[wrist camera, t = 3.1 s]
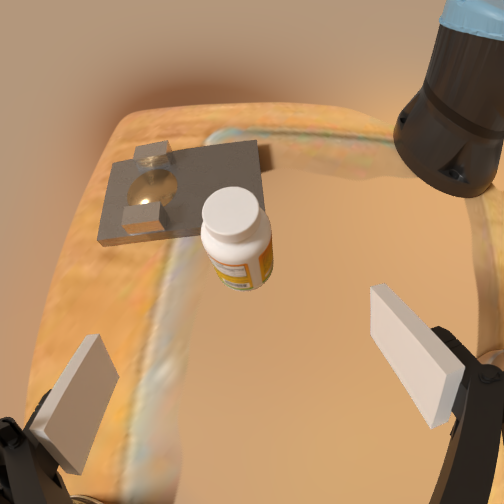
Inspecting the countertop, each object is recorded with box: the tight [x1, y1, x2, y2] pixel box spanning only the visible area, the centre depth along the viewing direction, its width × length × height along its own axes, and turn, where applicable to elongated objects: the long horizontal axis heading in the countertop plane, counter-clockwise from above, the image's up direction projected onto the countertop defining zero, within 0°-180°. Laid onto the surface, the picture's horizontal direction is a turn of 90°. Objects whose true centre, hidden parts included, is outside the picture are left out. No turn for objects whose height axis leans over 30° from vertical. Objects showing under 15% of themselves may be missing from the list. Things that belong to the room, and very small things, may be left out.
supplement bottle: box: [201, 187, 273, 291], centre depth 26 cm, size 5×5×10 cm
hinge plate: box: [97, 140, 265, 247], centre depth 33 cm, size 18×11×4 cm, turn 94°
